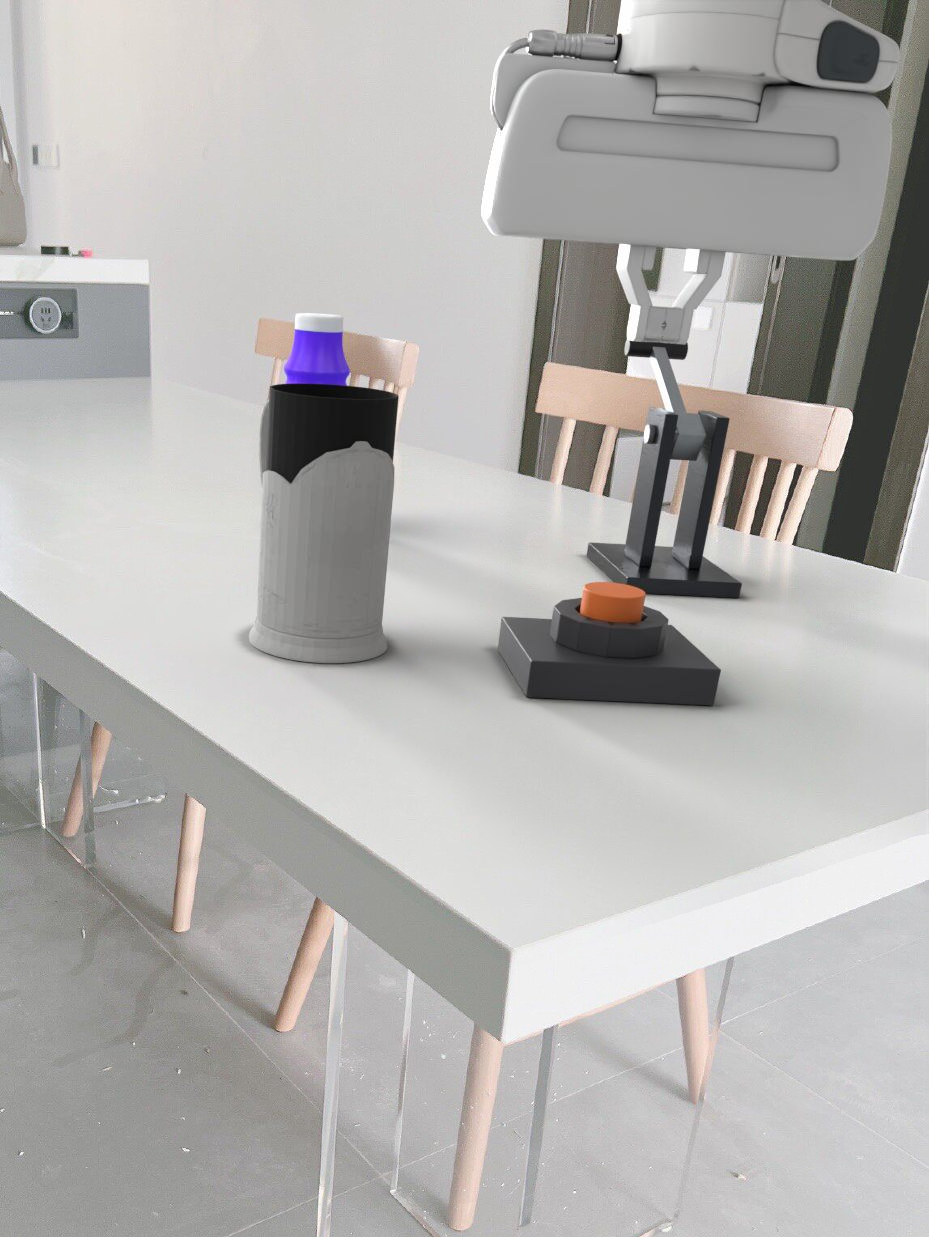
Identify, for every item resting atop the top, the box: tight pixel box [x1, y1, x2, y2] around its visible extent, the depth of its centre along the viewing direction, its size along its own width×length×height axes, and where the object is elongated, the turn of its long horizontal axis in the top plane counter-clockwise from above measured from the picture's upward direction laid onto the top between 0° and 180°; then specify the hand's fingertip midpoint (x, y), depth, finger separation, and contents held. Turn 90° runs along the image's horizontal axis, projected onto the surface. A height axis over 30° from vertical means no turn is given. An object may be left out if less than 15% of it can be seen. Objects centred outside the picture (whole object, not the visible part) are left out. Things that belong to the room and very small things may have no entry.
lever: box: [623, 338, 706, 462], centre depth 98 cm, size 14×5×2 cm, turn 3°
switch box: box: [497, 597, 722, 706], centre depth 73 cm, size 11×9×4 cm
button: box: [580, 581, 647, 623], centre depth 72 cm, size 4×4×2 cm
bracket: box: [586, 406, 743, 599], centre depth 96 cm, size 12×9×13 cm
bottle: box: [283, 312, 351, 386], centre depth 106 cm, size 7×6×17 cm
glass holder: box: [248, 383, 399, 664], centre depth 76 cm, size 9×14×15 cm, turn 26°
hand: (656, 342), depth 66 cm, fingers closed
